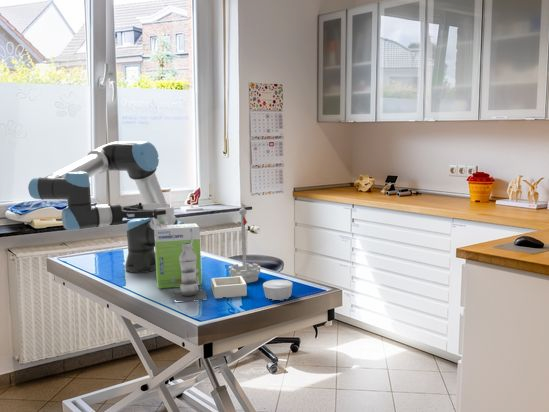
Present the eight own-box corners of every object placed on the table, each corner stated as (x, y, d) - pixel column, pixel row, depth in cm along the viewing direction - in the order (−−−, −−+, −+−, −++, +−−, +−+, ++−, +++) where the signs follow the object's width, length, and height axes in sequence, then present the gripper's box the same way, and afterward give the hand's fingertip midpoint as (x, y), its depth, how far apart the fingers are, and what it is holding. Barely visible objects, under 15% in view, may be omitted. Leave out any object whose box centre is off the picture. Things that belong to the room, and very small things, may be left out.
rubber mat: (174, 302, 214) (174, 301, 214) (173, 293, 225) (173, 292, 225) (207, 300, 216) (207, 298, 216) (204, 290, 228) (204, 289, 228)
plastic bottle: (181, 293, 224) (178, 242, 221) (198, 292, 224) (196, 241, 221) (179, 298, 217) (177, 245, 214) (198, 297, 218) (195, 245, 215)
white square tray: (215, 298, 218) (214, 286, 217) (211, 289, 229) (211, 278, 229) (246, 295, 220) (246, 284, 220) (241, 286, 232) (241, 275, 231)
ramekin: (270, 303, 210) (269, 289, 210) (258, 295, 220) (258, 281, 220) (298, 299, 215) (297, 285, 214) (285, 291, 225) (285, 277, 224)
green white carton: (198, 278, 246) (196, 222, 242) (202, 285, 236) (199, 226, 232) (156, 282, 241) (153, 225, 238) (158, 289, 231) (154, 229, 228)
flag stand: (225, 277, 247) (222, 207, 242) (254, 273, 251) (252, 204, 247) (234, 285, 235) (232, 211, 230) (265, 281, 239) (263, 209, 235)
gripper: (99, 220, 215) (154, 214, 226) (120, 230, 194) (180, 223, 205) (98, 200, 214) (153, 195, 225) (119, 208, 193) (178, 202, 204)
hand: (166, 208), depth 215 cm, fingers open, 13 cm apart
